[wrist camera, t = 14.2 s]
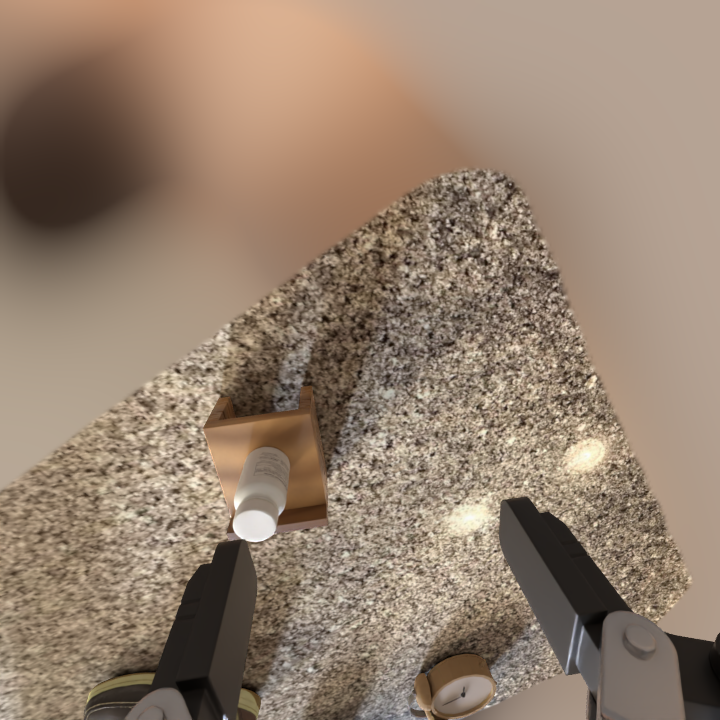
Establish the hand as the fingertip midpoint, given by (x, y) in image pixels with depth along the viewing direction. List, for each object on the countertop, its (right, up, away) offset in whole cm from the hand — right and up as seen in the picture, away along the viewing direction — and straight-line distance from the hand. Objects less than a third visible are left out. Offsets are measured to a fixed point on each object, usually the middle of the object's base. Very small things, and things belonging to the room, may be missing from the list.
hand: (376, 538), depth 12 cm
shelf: (-10, -3, +31) cm, 33 cm away
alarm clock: (+14, -48, +52) cm, 73 cm away
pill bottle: (-10, -5, +25) cm, 27 cm away
